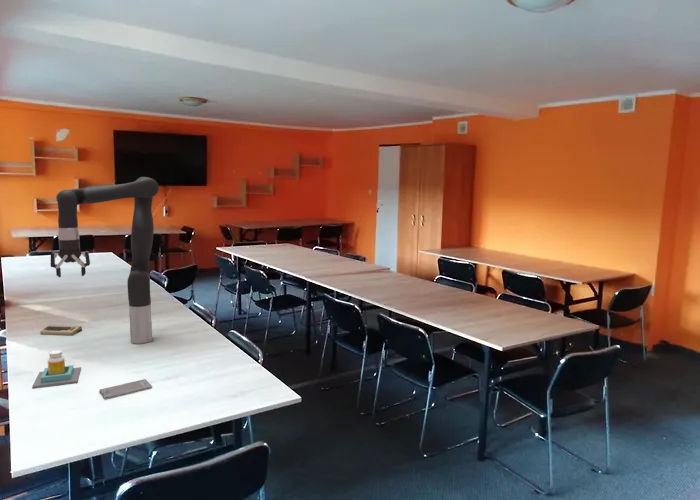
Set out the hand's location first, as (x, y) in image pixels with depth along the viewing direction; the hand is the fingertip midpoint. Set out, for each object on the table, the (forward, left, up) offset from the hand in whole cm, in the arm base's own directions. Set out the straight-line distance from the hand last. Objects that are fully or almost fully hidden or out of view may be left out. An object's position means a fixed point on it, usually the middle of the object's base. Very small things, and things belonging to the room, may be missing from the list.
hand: (71, 276), depth 206 cm
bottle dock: (+3, +29, -33) cm, 44 cm away
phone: (-21, +48, -34) cm, 63 cm away
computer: (+9, -31, -34) cm, 47 cm away
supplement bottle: (+3, +29, -32) cm, 44 cm away
